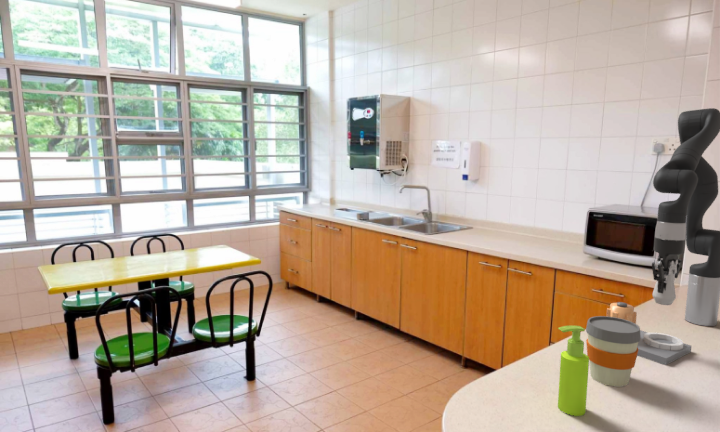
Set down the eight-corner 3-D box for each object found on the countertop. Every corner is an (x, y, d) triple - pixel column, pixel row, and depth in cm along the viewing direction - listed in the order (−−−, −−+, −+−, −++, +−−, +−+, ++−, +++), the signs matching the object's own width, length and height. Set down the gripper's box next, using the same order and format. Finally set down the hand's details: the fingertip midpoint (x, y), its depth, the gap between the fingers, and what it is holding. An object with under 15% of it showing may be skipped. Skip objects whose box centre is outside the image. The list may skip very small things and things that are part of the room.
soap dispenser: (548, 403, 109) (553, 322, 106) (576, 401, 109) (581, 321, 107) (561, 416, 103) (566, 332, 100) (590, 415, 104) (596, 331, 101)
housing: (619, 329, 155) (622, 293, 153) (690, 352, 137) (694, 311, 135) (593, 340, 146) (596, 301, 144) (665, 365, 128) (669, 321, 127)
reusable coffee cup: (608, 393, 113) (612, 335, 111) (572, 370, 125) (575, 318, 123) (648, 386, 117) (653, 330, 115) (609, 365, 129) (613, 313, 127)
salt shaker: (668, 300, 140) (672, 259, 138) (679, 306, 134) (683, 263, 133) (648, 299, 141) (651, 258, 139) (657, 305, 135) (662, 262, 133)
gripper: (667, 233, 142) (662, 287, 144) (644, 237, 134) (639, 293, 137) (695, 237, 136) (689, 293, 138) (672, 240, 128) (666, 300, 130)
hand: (664, 293), depth 137 cm, fingers closed on salt shaker, 3 cm apart
